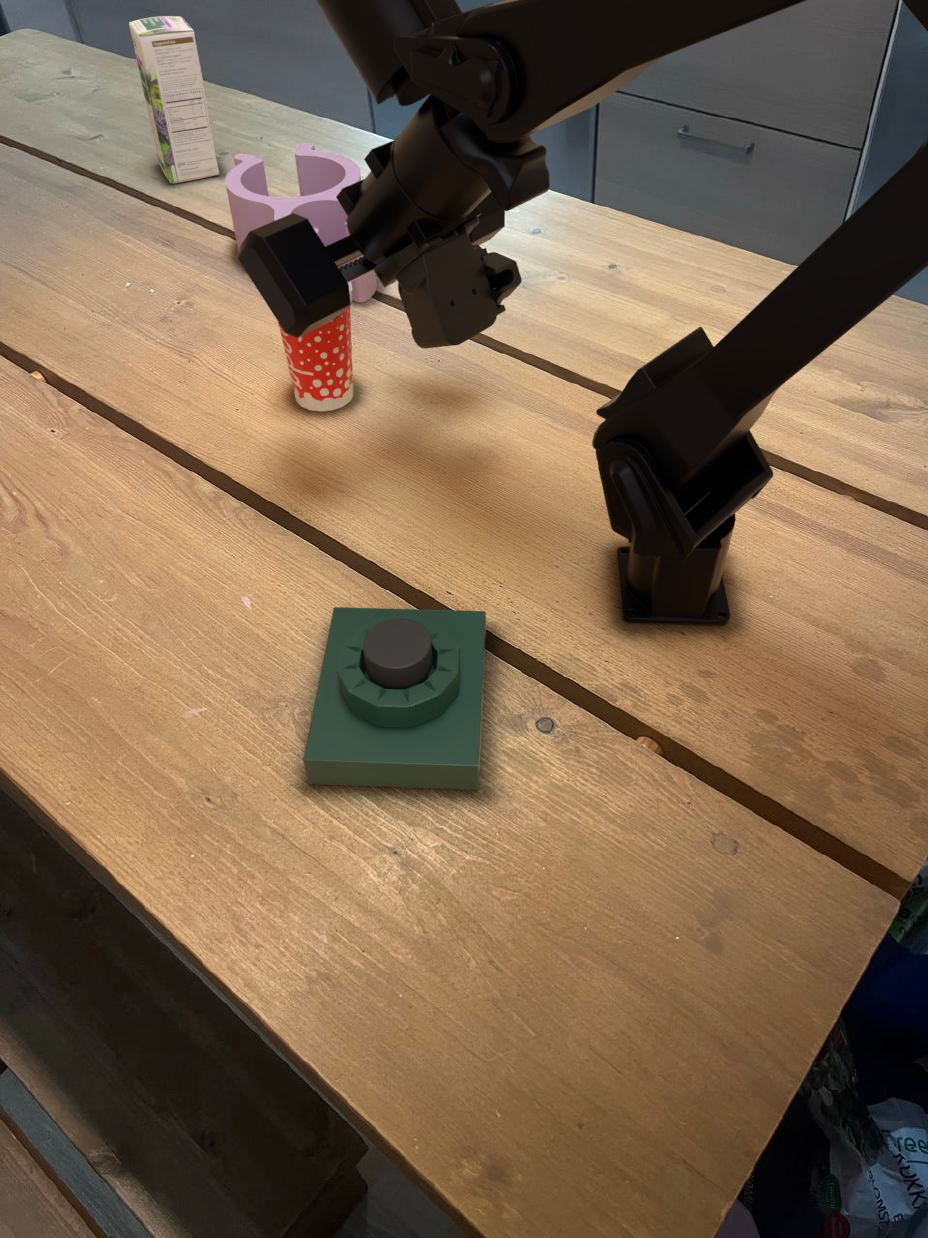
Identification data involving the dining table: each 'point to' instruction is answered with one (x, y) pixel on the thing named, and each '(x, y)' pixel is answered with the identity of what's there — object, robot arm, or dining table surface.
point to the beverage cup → (322, 364)
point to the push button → (397, 653)
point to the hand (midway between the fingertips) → (330, 292)
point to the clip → (297, 200)
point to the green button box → (399, 707)
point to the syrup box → (175, 97)
